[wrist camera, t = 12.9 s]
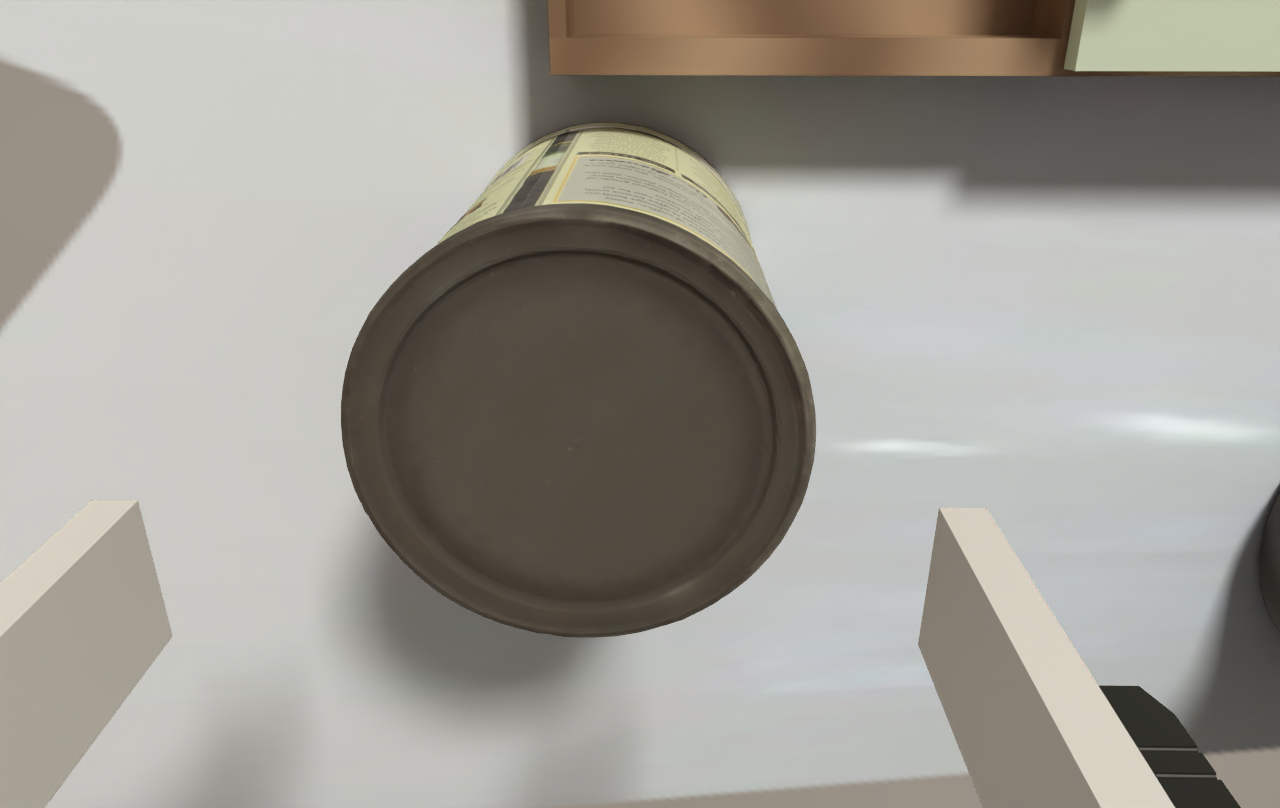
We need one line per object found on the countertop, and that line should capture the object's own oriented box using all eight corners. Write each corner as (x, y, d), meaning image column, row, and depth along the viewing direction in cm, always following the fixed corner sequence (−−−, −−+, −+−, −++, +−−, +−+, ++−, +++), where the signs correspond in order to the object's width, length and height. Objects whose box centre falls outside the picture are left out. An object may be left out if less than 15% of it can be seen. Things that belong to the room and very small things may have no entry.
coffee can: (702, 434, 35) (724, 686, 23) (439, 357, 34) (304, 576, 22) (800, 172, 31) (895, 298, 19) (504, 77, 30) (387, 140, 18)
